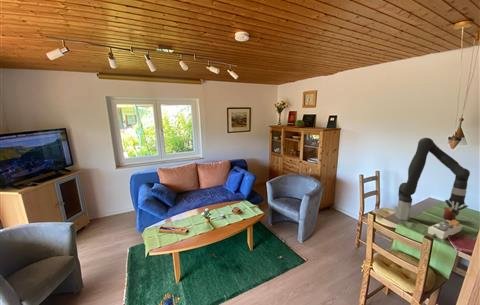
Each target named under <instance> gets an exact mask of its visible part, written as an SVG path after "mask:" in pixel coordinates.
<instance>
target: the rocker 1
mask: <svg viewBox="0 0 480 305" xmlns="http://www.w3.org/2000/svg"><path fill="white" fill-rule="evenodd" d="M437 229H439V230H441V231H445V230H446V229H448V226H446V225H443V224H441V225H440V226H438V227H437Z"/></svg>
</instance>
